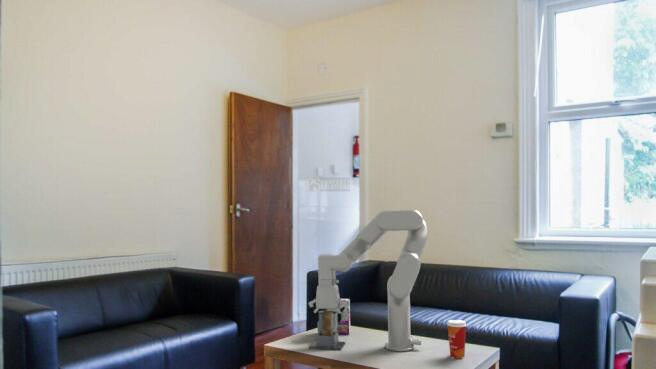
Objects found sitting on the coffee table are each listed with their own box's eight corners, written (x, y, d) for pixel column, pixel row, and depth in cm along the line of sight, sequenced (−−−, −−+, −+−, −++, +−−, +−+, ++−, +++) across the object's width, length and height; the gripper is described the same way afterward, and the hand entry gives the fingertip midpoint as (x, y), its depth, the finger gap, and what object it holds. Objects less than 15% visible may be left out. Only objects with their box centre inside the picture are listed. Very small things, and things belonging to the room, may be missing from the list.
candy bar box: (350, 332, 242) (350, 298, 243) (349, 335, 237) (348, 300, 238) (327, 331, 244) (327, 298, 244) (326, 334, 239) (325, 299, 239)
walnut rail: (333, 343, 219) (332, 311, 220) (330, 345, 215) (330, 312, 216) (324, 342, 220) (324, 310, 221) (321, 345, 216) (321, 312, 217)
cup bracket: (345, 344, 221) (345, 331, 221) (340, 350, 211) (340, 337, 212) (314, 342, 224) (314, 330, 225) (308, 348, 215) (308, 335, 215)
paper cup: (445, 353, 205) (445, 319, 206) (464, 353, 205) (463, 319, 206) (449, 359, 198) (449, 323, 198) (469, 359, 197) (468, 323, 198)
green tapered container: (314, 340, 227) (313, 314, 228) (319, 335, 237) (319, 309, 238) (335, 341, 225) (335, 315, 226) (340, 336, 235) (340, 310, 235)
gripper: (348, 281, 221) (349, 320, 220) (310, 281, 225) (311, 319, 224) (344, 284, 214) (346, 324, 213) (305, 283, 217) (307, 323, 217)
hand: (328, 321), depth 218 cm, fingers open, 9 cm apart
